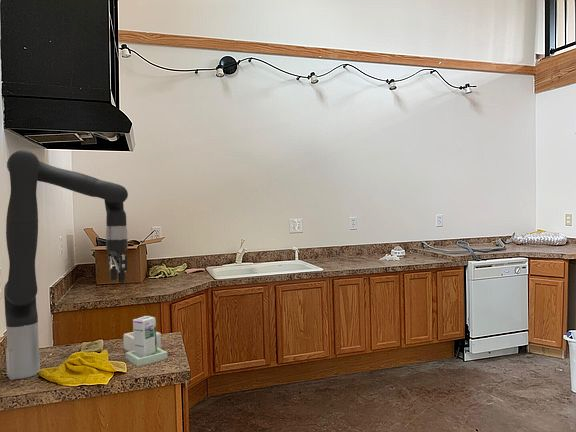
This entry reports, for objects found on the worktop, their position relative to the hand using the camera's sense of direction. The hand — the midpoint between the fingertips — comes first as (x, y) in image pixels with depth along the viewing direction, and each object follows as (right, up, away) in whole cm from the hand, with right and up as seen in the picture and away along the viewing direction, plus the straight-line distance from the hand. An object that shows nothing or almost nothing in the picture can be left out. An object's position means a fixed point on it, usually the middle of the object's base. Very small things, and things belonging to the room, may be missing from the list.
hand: (117, 281), depth 168 cm
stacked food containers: (+7, -28, +7) cm, 29 cm away
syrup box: (+12, -27, -6) cm, 30 cm away
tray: (+13, -28, -6) cm, 31 cm away
